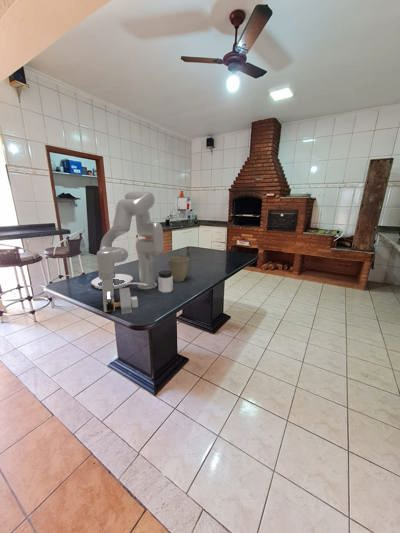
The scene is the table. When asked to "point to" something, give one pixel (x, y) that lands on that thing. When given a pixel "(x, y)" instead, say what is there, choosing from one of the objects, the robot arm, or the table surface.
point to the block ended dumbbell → (133, 302)
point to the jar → (165, 281)
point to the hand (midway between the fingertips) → (110, 307)
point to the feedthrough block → (125, 300)
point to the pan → (121, 277)
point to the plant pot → (178, 267)
